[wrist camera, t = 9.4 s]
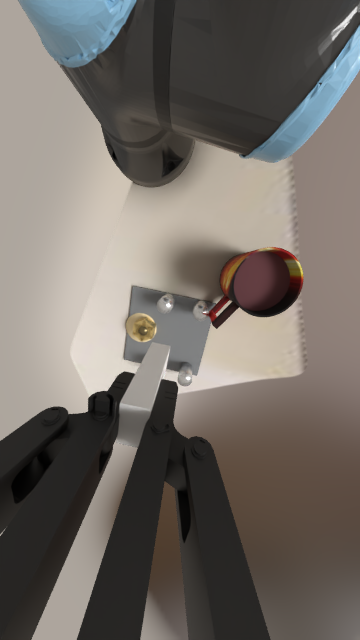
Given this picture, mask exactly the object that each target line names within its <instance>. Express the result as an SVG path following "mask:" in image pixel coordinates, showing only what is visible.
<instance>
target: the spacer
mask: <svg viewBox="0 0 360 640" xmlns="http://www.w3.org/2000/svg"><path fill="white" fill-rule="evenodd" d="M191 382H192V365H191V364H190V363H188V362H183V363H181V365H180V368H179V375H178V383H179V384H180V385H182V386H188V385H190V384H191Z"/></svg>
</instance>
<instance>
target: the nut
mask: <svg viewBox="0 0 360 640" xmlns="http://www.w3.org/2000/svg"><path fill="white" fill-rule="evenodd" d="M155 329H156V323H154V322H153V321H152V320H151V319H150V318H149V317H145V318H142V319H139V320H137V321H136V322H135V323H134V326H133V335H134V336H135V337H137V338H138V339H139V340H140V341H141V342H142V341H145V340H149V339H152V338H153V336H154V335H155Z"/></svg>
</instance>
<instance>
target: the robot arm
mask: <svg viewBox="0 0 360 640" xmlns="http://www.w3.org/2000/svg"><path fill="white" fill-rule="evenodd" d="M18 1H19V3H20V5H21V6H22V8H23V10H24V11H25V13H26V14H27V16H28V18H29V19H30V21H31V22H32V24H33V25H34V27H35V29H36V30H37V32H38V34H39V36H40V38H41V41H42V43H43V45H44V47H45V49H46V50H47V51H48V53H49V54H50V55H51V56H52V57H53V58H54V60H55V61H57V63H58V64H59V65H60V67H61V68H62V70H63V71H64V72H65V74H66V75H67V77H68V78H69V79H70V81H71V82H72V84H73V85H74V87H75V88H76V89H77V91H78V92H79V94H80V95H81V96H82V98H83V99H84V101H85V102H86V104H87V105H88V106H89V108H90V109H91V111H92V112H93V114H94V115H95V116H96V118H97V119H98V121H99V122H100V124H101V127H102V131H103V135H104V139H105V143H106V146H107V148H108V151H109V153H110V155H111V157H112V159H113V161H114V162H115V164H116V165H117V167H118V168H119V169H120V170H121V171H122V173H123V174H124V175H125V176H126V177H127V178H129V179H130V180H131V181H133V182H135V183H136V184H139V185H142V186H146V187H158V186H162V185H165V184H167V183H169V182H171V181H173V180H174V179H175V178H176V177H178V176H179V175H180V174H181V172H182V171H183V170H184V169H185V167H186V165H187V164H188V162H189V160H190V157H191V155H192V152H193V148H194V143H195V140H197V141H200V142H203V143H206V144H209V145H212V146H216V147H219V148H222V149H225V150H228V151H231V152H234V153H237V154H239V156H240V157H241V158H244V159H247V158H254V159H258V160H261V161H265V162H270V163H275V162H278V161H280V160H282V159H285V158H287V157H289V156H290V155H292V154H293V153H294V152H295V151H296V150H298V149H299V148H300V147H301V146H302V145H303V144H304V143H305V142H306V141H307V140H308V139H309V137H310V136H311V135H312V134H313V133H314V132H315V131H316V129H317V128H318V127H319V126H320V125H321V123H322V122H323V121H324V120H325V118H326V117H327V116H328V114H329V113H330V112H331V110H332V109H333V108H334V106H335V105H336V104H337V102H338V101H339V99H340V98H341V97H342V95H343V94H344V92H345V91H346V89H347V88H348V86H349V85H350V84H351V82H352V81H353V79H354V78H355V76H356V75H357V73H358V72H359V70H360V0H18ZM169 351H170V346H168V345H163V344H159V343H154V342H152V344H151V345H150V347H149V349H148V351H147V353H146V355H145V357H144V359H143V360H142V362H141V364H140V366H139V368H138V370H137V372H136V374H134V373H129V372H122V373H121V374H119V375H118V376H117V378H116V379H115V381H114V382H113V384H112V385H111V387H110V388H109V390H108V391H101V392H97V393H95V394H92V395H91V396H90V397H89V398H88V412H86V413H79V414H68V411H67V410H66V409H65V408H63V407H51V408H48V409H45V410H44V411H42V412H40V413H39V414H37V415H36V416H35V417H33V418H32V419H30V420H29V421H28V422H26V423H25V424H23V425H22V426H21V427H19V428H18V429H17V430H15V431H14V432H13V433H11V434H10V435H8V436H7V437H5V438H4V439H3V440H1V441H0V534H1V533H2V532H3V530H4V529H5V528H6V527H7V528H6V529H5V531H4V532H3V534H2V535H1V536H0V640H31V639H32V637H33V634H34V632H35V630H36V627H37V625H38V622H39V620H40V618H41V616H42V613H43V611H44V609H45V607H46V604H47V602H48V600H49V597H50V595H51V592H52V590H53V588H54V586H55V583H56V581H57V579H58V576H59V574H60V572H61V570H62V567H63V565H64V563H65V560H66V558H67V556H68V554H69V551H70V549H71V547H72V544H73V542H74V540H75V537H76V535H77V532H78V531H79V528H80V526H81V524H82V521H83V519H84V517H85V514H86V512H87V510H88V507H89V505H90V503H91V500H92V498H93V496H94V494H95V491H96V489H97V487H98V484H99V482H100V480H101V478H102V475H103V473H104V471H105V468H106V466H107V464H108V461H109V459H110V457H111V454H112V450H113V444H114V442H115V440H116V438H117V441H116V442H117V443H119V444H123V445H128V446H132V447H137V448H138V449H137V452H136V455H135V459H134V462H133V465H132V468H131V471H130V474H129V477H128V481H127V484H126V487H125V490H124V493H123V496H122V499H121V503H120V506H119V509H118V513H117V515H116V518H115V522H114V525H113V528H112V531H111V534H110V537H109V540H108V543H107V546H106V550H105V553H104V556H103V559H102V562H101V565H100V568H99V572H98V575H97V578H96V581H95V584H94V587H93V590H92V594H91V597H90V600H89V603H88V606H87V609H86V612H85V616H84V619H83V622H82V625H81V628H80V632H79V635H78V638H77V640H140V637H141V630H142V624H143V617H144V611H145V604H146V598H147V591H148V585H149V578H150V572H151V565H152V559H153V552H154V546H155V538H156V533H157V526H158V520H159V513H160V507H161V500H162V494H163V487H164V481H166V482H167V483H168V484H170V485H171V486H172V487H174V488H175V498H176V509H177V519H178V530H179V541H180V552H181V562H182V573H183V584H184V594H185V605H186V616H187V626H188V637H189V640H270V636H269V633H268V630H267V626H266V623H265V620H264V616H263V613H262V610H261V607H260V604H259V600H258V597H257V593H256V590H255V587H254V584H253V580H252V577H251V573H250V570H249V567H248V564H247V560H246V557H245V553H244V550H243V547H242V543H241V540H240V537H239V534H238V530H237V527H236V524H235V520H234V517H233V514H232V510H231V507H230V504H229V500H228V497H227V494H226V490H225V487H224V484H223V480H222V477H221V474H220V470H219V467H218V464H217V460H216V457H215V454H214V450H213V449H212V446H211V444H210V443H209V442H208V441H207V440H205V439H203V438H202V437H197V436H195V437H191V438H190V439H188V438H186V437H184V436H182V435H181V434H180V433H179V432H177V430H176V429H175V427H174V424H173V418H174V411H175V406H176V399H177V393H178V386H177V383H176V382H174V381H169V380H164V377H165V373H166V367H167V362H168V356H169Z"/></svg>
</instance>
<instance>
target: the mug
mask: <svg viewBox="0 0 360 640" xmlns="http://www.w3.org/2000/svg"><path fill="white" fill-rule="evenodd" d="M302 285H303V271H302V267H301V265H300V263H299V261H298V260H297V259H296V257H295V256H294V255H293V254H291V253H290V252H289V251H286V250H284V249H281V248H276V247H267V248H263V249H258V250H255V251H251V252H247V253H243V254H240V255H237V256H235V257H233V258H231V259H230V260H229V261H228V262H227V263H226V264H225V266H224V267H223V269H222V271H221V275H220V286H221V289H222V291H223V293H224V294H225V296H224V297H223V298H222V299H221V300H220V301H219V302H218V303H217V304H216V305H215V306H214V307H213V308H212V309H211V310H210V311H209V318H210V319H211V322H212V325H213V326H214V327H215V328H216V329H217V328H218V327H219V326H220V325H221V324H223V323H224V322H225V321H226V320H227V319H228V318H229V317H230V316H231V315H232V314H233V313H234V312H235V311H236V310H237V309H238V308H239V307H240V308H241V309H242V310H244V311H245V312H246V313H248V314H250V315H253V316H257V317H270V316H275V315H277V314H280V313H282V312H283V311H285V310H287V309H288V308H289V307H290V306H291V305H292V304H293V303H294V302H295V301H296V299H297V298H298V296H299V294H300V292H301V289H302ZM229 300H231V301H233V302H232V303H231V304H230V305H229V306H228V307H227V308H226V309H225V310H224V311H223V312H222V313H221V314H220V315H219V316H218V317H217V316H216V315H215V314H216V313H217V312H218V311H219V310H220V309H221V308H222V307H223V306H224V305H225V304H226V303H227V302H228V301H229Z"/></svg>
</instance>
